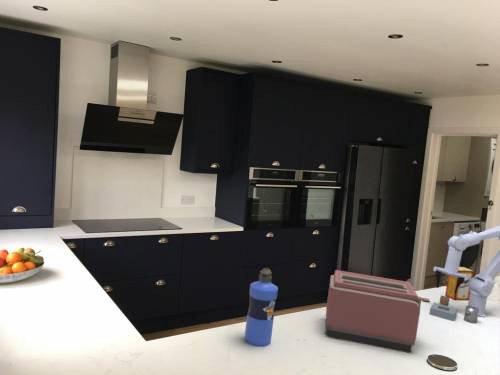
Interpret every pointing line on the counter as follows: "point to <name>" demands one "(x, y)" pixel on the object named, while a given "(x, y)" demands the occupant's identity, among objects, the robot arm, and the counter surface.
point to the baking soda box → (463, 289)
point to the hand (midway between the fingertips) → (446, 290)
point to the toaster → (373, 310)
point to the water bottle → (261, 310)
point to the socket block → (443, 311)
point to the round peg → (471, 314)
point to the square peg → (444, 300)
